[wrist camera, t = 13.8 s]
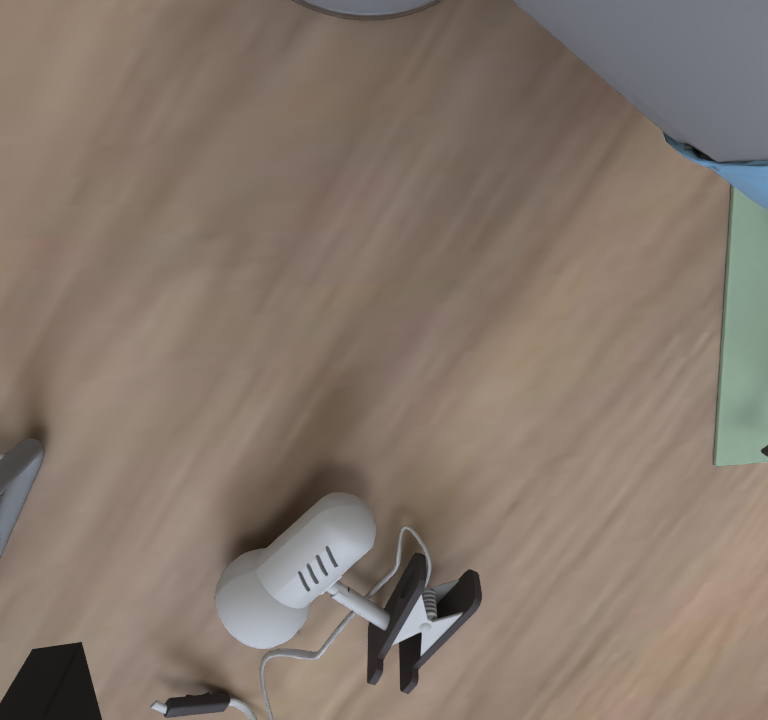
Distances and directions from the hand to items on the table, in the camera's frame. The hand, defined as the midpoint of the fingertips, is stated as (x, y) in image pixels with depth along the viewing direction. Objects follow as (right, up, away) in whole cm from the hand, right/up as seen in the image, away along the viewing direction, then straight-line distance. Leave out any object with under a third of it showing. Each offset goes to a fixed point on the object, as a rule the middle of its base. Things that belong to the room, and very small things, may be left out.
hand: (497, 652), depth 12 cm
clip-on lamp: (-6, -10, +31) cm, 33 cm away
